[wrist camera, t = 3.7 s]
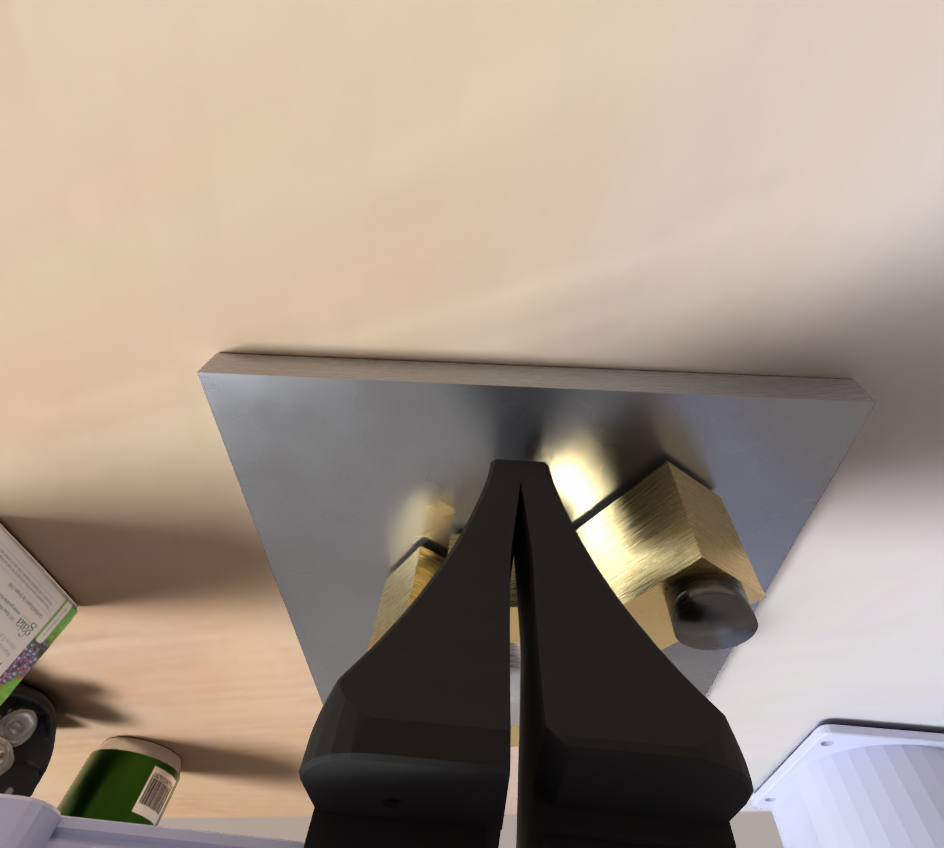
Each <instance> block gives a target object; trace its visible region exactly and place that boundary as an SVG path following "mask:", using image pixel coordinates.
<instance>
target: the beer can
mask: <svg viewBox="0 0 944 848" xmlns="http://www.w3.org/2000/svg"><path fill="white" fill-rule="evenodd" d="M180 770H181V759H180V758H179V756H178V755H176V754H175V753H174V752H172V751H171V750H169V749H167V748H165V747H163V746H160V745H158V744H155V743H152V742H149V741H145V740H140V739H136V738H127V737H114V738H110V739H107V740H106V741H105V742H104V743H102V744H101V745H100V746H99V747H98V748H97V749H96V750H94V751H93V752H92V753H91V754H90V756H89V757H88V759H87V761H86V762H85V764H84V766H83V767H82V769H81V770H80V772H79V774H78V775H77V777H76V778H75V780H74V782H73V783H72V785H71V786H70V788H69V790H68V791H67V793H66V795H65V796H64V798H63V799H62V801H61V803H60V804H59V806H58V807H57V810H59V811H60V814H61V815H62V816H71V817H80V818H90V819H99V820H108V821H117V822H126V823H135V824H145V825H154V826H157V825H158V823H159V821H160V819H161V817H162V815H163V813H164V811H165V809H166V807H167V804H168V802H169V800H170V798H171V796H172V794H173V792H174V790H175V788H176V785H177V783H178V781H179V779H180Z"/></svg>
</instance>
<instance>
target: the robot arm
mask: <svg viewBox="0 0 944 848" xmlns="http://www.w3.org/2000/svg"><path fill="white" fill-rule="evenodd" d="M513 558H514V565H515V579H516V592H517V606H518V620H519V633H520V656H521V659H520V718H519V764H518V805H517V842H516V848H736V844H735V840H734V837H733V833H732V830H731V826H730V822H729V821H730V820H731V819H732V818H733V817H734V816H735V815H736V814H737V813H738V812H739V811H740V810H741V809H742V808H743V807H744V806H745V805H746V803H747V802H748V800H749V798H750V797H751V795H752V793H753V786H752V781H751V778H750V774H749V771H748V768H747V765H746V762H745V759H744V757H743V754H742V752H741V750H740V747H739V745H738V743H737V741H736V738H735V736H734V734H733V732H732V730H731V728H730V725H729V723H728V721H727V719H726V717H725V715H724V714H723V713H721V712H720V711H719V710H718V709H717V708H716V707H715V706H714V705H713V704H712V703H711V702H710V701H709V700H708V699H707V698H706V697H705V696H704V695H703V694H702V693H701V692H700V691H699V690H698V689H697V688H696V687H695V686H694V685H693V684H692V683H691V682H690V681H689V680H688V679H687V678H686V677H685V676H684V675H683V674H682V673H681V672H680V671H679V670H678V668H677V667H676V666H675V665H674V664H673V663H672V662H671V661H670V660H669V659H668V658H667V657H666V655H665V654H664V653H663V652H662V651H661V650H660V649H659V648H658V647H657V645H656V644H655V643H654V642H653V641H652V639H651V638H650V637H649V636H648V635H647V633H646V632H645V631H644V630H643V629H642V627H641V626H640V625H639V624H638V623H637V621H636V620H635V619H634V618H633V617H632V615H631V614H630V613H629V612H628V610H627V609H626V608H625V606H624V605H623V604H622V602H621V601H620V600H619V598H618V597H617V596H616V594H615V593H614V591H613V590H612V588H611V587H610V586H609V584H608V583H607V581H606V580H605V578H604V577H603V575H602V574H601V572H600V571H599V569H598V568H597V566H596V565H595V563H594V561H593V560H592V558H591V556H590V555H589V553H588V551H587V550H586V548H585V546H584V544H583V543H582V541H581V539H580V537H579V535H578V534H577V532H576V530H575V528H574V526H573V524H572V522H571V520H570V518H569V516H568V514H567V512H566V510H565V508H564V506H563V503H562V501H561V499H560V496H559V494H558V492H557V489H556V487H555V484H554V481H553V478H552V475H551V472H550V469H549V466H548V465H547V464H546V463H545V462H537V461H520V460H503V459H495V460H493V461H492V462H491V464H490V469H489V473H488V476H487V479H486V482H485V485H484V488H483V490H482V492H481V495H480V497H479V499H478V501H477V503H476V506H475V508H474V510H473V512H472V514H471V516H470V518H469V520H468V522H467V524H466V525H465V527H464V529H463V530H462V532H461V534H460V536H459V537H458V539H457V541H456V542H455V544H454V546H453V548H452V549H451V551H450V552H449V554H448V555H447V557H446V558H445V560H444V561H443V563H442V564H441V566H440V567H439V569H438V570H437V571H436V573H435V574H434V576H433V577H432V578H431V580H430V581H429V582H428V584H427V585H426V586H425V587H424V589H423V590H422V591H421V593H420V594H419V595H418V596H417V598H416V599H415V600H414V601H413V603H412V604H411V605H410V606H409V607H408V609H407V610H406V611H405V612H404V613H403V614H402V615H401V616H400V618H399V619H398V620H397V621H396V622H395V623H394V624H393V625H392V626H391V627H390V629H389V630H388V631H387V632H386V633H385V634H384V635H383V636H382V637H381V638H380V639H379V640H378V641H377V642H376V644H375V645H374V646H373V647H372V648H371V649H369V650H368V651H367V652H366V653H365V654H364V655H363V656H362V657H361V658H360V659H359V660H358V661H357V662H356V663H355V664H354V665H353V666H352V667H351V668H349V669H348V670H347V671H346V672H345V673H344V674H343V675H342V676H341V677H340V678H339V679H338V680H337V682H336V684H335V685H334V687H333V689H332V691H331V693H330V694H329V696H328V698H327V700H326V702H325V704H324V706H323V708H322V710H321V712H320V714H319V716H318V718H317V721H316V723H315V725H314V727H313V730H312V733H311V735H310V738H309V741H308V745H307V748H306V751H305V754H304V757H303V761H302V764H301V767H300V770H299V774H300V779H301V781H302V783H303V785H304V787H305V789H306V791H307V793H308V795H309V797H310V799H311V801H312V803H313V805H314V807H315V808H314V812H313V815H312V819H311V823H310V826H309V830H308V833H307V837H306V841H305V842H301V841H291V840H282V839H273V838H264V837H254V836H245V835H236V834H227V833H217V832H208V831H199V830H190V829H181V828H172V827H163V826H154V825H145V824H135V823H126V822H117V821H108V820H99V819H90V818H80V817H71V816H62V815H61V814H60V811H59V810H57V809H56V808H55V807H54V806H52V805H51V804H49V803H47V802H45V801H42V800H39V799H36V798H32V797H27V796H19V795H10V794H1V793H0V848H498V846H499V838H500V831H501V830H502V824H503V818H504V811H505V804H506V797H507V790H508V783H509V776H510V746H511V712H510V582H511V574H512V566H513ZM751 801H752V804H753V806H754V807H755V808H757V809H763V810H772V813H773V816H774V819H775V822H776V825H777V828H778V831H779V834H780V837H781V840H782V843H783V846H784V848H944V734H942V733H930V732H918V731H906V730H895V729H883V728H871V727H859V726H847V725H836V724H825V725H821V726H819V727H817V728H816V729H815V730H814V731H813V732H812V733H811V735H810V736H809V737H808V738H807V739H806V740H805V741H804V742H803V743H802V744H801V745H800V746H799V747H798V748H797V749H796V750H795V752H794V753H793V754H792V755H791V756H790V757H789V758H788V759H787V760H786V761H785V762H784V763H783V764H782V765H781V766H780V767H779V768H778V770H777V771H776V772H775V773H774V774H773V775H772V776H771V777H770V778H769V779H768V780H767V781H766V782H765V783H764V784H763V785H762V787H761V788H760V789H759V790H758V791H757V792H756V793H755V794H754V795H753V796H752V797H751Z"/></svg>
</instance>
